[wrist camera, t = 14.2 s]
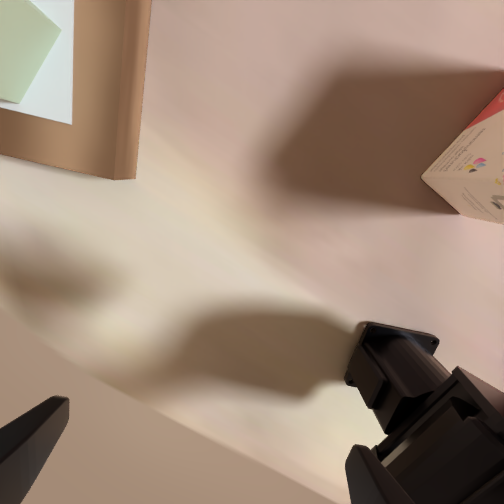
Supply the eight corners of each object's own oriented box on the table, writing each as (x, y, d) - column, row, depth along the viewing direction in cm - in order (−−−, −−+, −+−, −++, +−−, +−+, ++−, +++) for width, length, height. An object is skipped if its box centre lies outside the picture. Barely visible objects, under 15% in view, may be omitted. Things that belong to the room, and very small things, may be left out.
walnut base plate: (154, -33, 15) (129, -87, 12) (135, 178, 18) (112, 180, 15) (-69, -99, 14) (-159, -175, 11) (-44, 137, 17) (-106, 129, 14)
